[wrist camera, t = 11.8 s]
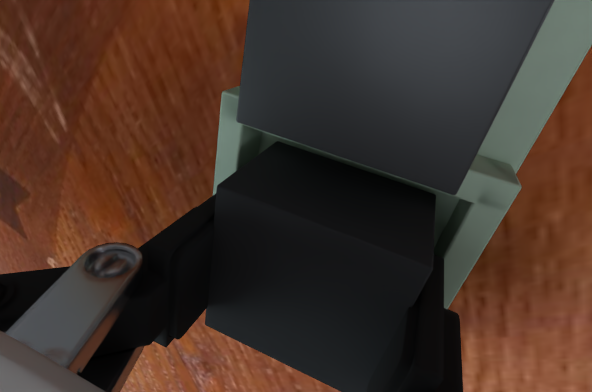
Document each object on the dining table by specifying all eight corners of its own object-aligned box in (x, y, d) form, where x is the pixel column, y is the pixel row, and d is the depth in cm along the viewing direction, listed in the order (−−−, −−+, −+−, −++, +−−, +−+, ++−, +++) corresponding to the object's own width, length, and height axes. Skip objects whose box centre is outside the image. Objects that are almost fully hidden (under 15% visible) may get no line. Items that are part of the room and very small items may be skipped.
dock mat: (233, 253, 16) (165, 328, 12) (283, -105, 10) (169, -196, 6) (412, 332, 14) (400, 449, 10) (625, -48, 8) (818, -125, 4)
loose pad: (256, 258, 13) (204, 325, 10) (276, 139, 11) (215, 185, 8) (380, 311, 12) (361, 402, 9) (437, 193, 10) (434, 269, 7)
